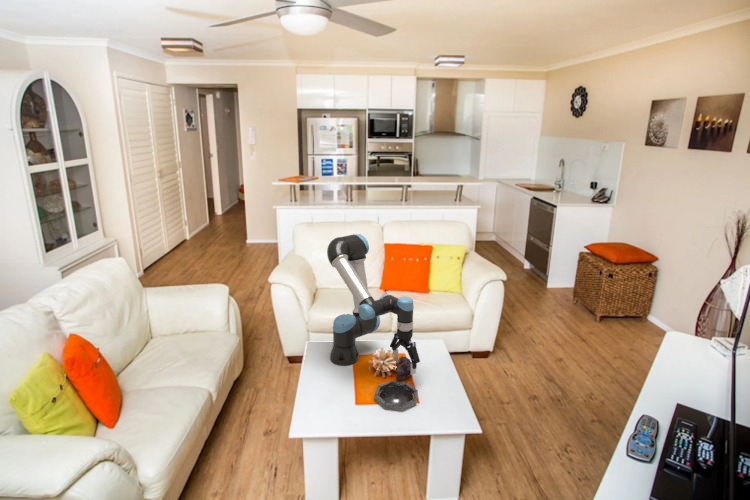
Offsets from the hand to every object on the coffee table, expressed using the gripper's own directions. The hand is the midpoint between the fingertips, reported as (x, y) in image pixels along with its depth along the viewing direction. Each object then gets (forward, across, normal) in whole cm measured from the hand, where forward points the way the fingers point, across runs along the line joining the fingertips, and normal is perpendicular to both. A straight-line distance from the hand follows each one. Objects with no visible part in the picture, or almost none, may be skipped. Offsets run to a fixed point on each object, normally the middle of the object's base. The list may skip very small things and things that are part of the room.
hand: (404, 368), depth 219 cm
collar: (+5, +12, -14) cm, 19 cm away
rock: (+5, 0, 0) cm, 5 cm away
